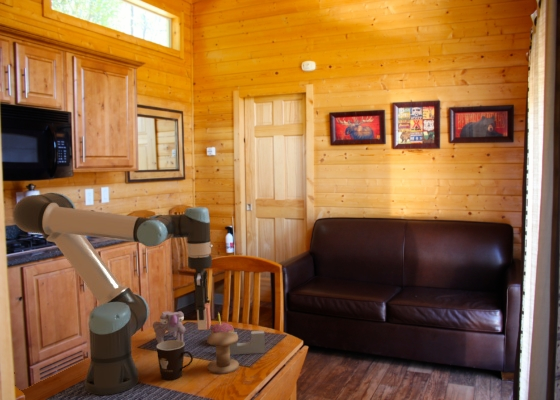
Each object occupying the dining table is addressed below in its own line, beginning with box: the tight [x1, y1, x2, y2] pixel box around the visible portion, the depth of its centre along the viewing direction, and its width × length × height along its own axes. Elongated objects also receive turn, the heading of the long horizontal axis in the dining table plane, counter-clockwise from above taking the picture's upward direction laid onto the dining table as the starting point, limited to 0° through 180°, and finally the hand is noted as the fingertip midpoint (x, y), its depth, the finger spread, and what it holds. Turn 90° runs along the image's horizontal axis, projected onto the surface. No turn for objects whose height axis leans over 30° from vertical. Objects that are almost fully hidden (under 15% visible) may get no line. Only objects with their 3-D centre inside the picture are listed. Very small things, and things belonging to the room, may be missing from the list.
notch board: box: [230, 330, 266, 356], centre depth 170 cm, size 14×2×7 cm, turn 95°
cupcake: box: [210, 311, 235, 335], centre depth 180 cm, size 9×8×12 cm
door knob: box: [206, 332, 240, 375], centre depth 158 cm, size 10×10×10 cm
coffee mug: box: [156, 339, 194, 382], centre depth 150 cm, size 12×9×10 cm
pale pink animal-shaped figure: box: [152, 310, 186, 344], centre depth 178 cm, size 20×11×14 cm, turn 25°
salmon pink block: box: [204, 303, 212, 331], centre depth 158 cm, size 4×5×7 cm
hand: (203, 326), depth 158 cm, fingers closed on salmon pink block, 5 cm apart
